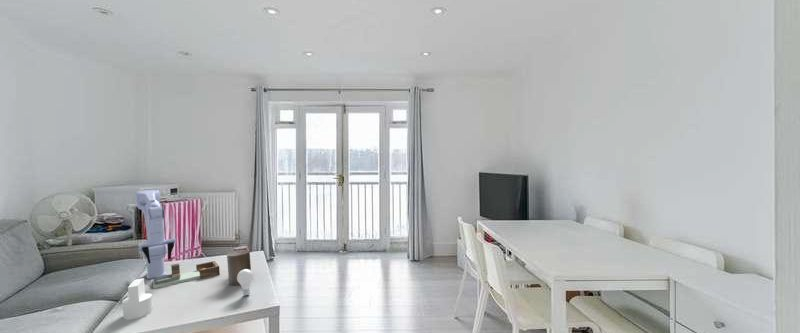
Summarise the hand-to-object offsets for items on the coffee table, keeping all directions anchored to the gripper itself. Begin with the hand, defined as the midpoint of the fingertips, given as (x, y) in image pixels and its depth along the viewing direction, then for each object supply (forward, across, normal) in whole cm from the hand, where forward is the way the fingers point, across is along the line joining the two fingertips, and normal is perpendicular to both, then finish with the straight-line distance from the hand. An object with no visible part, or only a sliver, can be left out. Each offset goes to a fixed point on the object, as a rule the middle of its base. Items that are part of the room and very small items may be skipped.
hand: (159, 261), depth 165 cm
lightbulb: (+12, +27, -44) cm, 53 cm away
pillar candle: (+11, +29, -25) cm, 40 cm away
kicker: (+9, +6, -1) cm, 11 cm away
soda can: (+11, +33, -13) cm, 37 cm away
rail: (+9, +2, -1) cm, 10 cm away
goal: (+10, +20, -1) cm, 23 cm away
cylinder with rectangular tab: (+12, -9, -33) cm, 36 cm away
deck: (+10, +6, -1) cm, 12 cm away
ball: (+9, +18, -1) cm, 20 cm away
